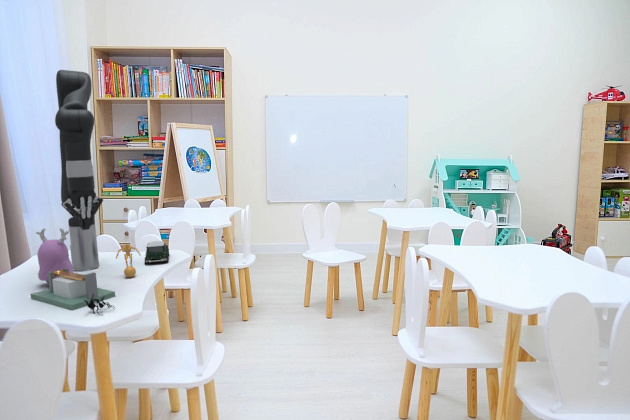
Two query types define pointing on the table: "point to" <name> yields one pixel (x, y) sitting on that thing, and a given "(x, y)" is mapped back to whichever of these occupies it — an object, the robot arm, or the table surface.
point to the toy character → (53, 255)
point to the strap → (69, 275)
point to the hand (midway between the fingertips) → (85, 229)
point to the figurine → (130, 270)
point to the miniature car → (156, 252)
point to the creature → (101, 305)
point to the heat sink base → (77, 300)
